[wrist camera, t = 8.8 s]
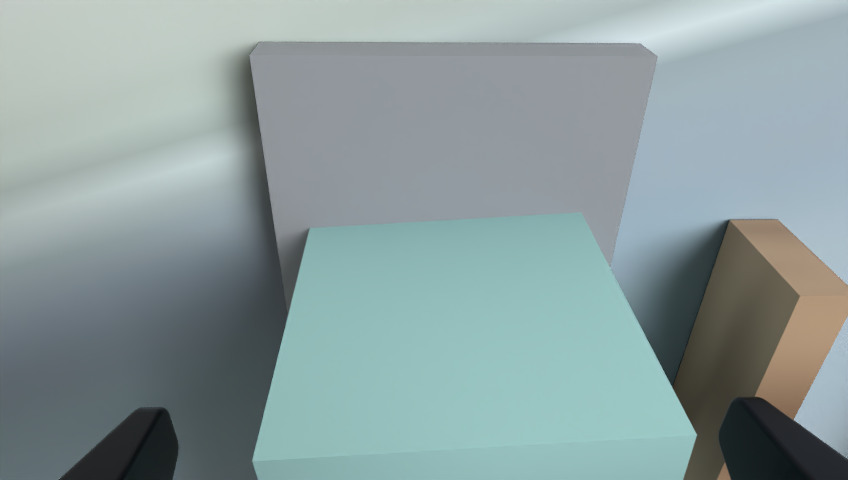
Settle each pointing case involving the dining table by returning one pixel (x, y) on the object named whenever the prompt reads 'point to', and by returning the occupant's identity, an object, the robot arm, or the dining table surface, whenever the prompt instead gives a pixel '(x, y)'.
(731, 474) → the robot arm
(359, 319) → the blank block
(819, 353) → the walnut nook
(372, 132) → the rubber mat
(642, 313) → the dining table surface
